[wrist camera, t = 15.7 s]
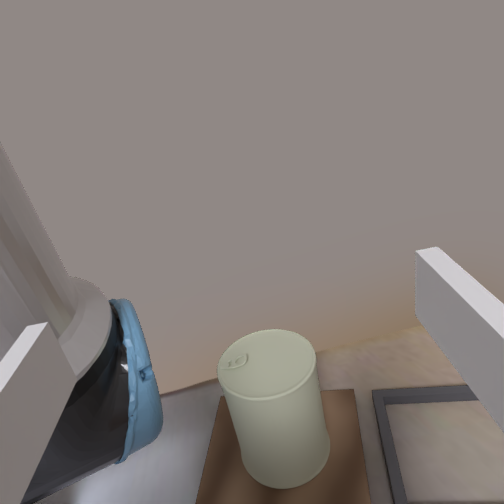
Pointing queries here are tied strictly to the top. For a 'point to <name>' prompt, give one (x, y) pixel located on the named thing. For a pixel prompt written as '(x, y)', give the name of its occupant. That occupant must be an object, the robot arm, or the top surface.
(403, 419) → the top surface
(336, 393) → the walnut board
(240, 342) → the can
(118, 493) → the top surface
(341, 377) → the top surface
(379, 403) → the grey picture frame
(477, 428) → the top surface
